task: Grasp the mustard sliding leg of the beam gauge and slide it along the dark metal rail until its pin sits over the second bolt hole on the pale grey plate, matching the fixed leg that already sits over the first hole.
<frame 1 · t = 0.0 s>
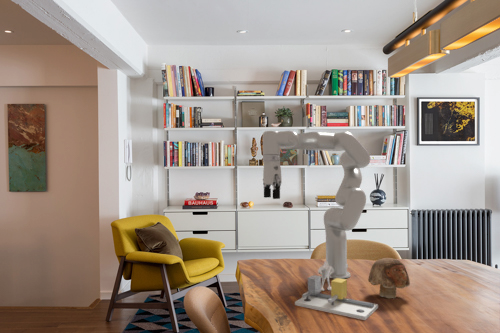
hand: (271, 198, 170), 37 cm above the table, tool pointing down, fingers open, 9 cm apart
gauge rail: (339, 304, 142), resting on hole plate
figurine: (326, 290, 159), on the table
hole plate: (336, 306, 140), on the table
sculpture: (389, 297, 150), on the table
sliding leg: (335, 292, 140), point 5 cm above the table, slide at 0.0 cm
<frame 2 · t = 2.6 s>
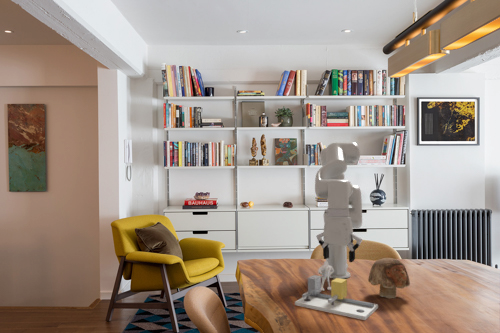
hand: (338, 260, 142), 16 cm above the table, tool pointing down, fingers open, 9 cm apart
nothing on the table moved.
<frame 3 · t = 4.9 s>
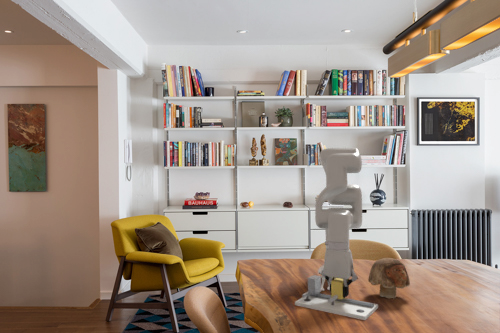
hand: (339, 295, 143), 3 cm above the table, tool pointing down, fingers closed on sliding leg, 4 cm apart
sliding leg: (335, 292, 140), point 5 cm above the table, slide at 0.0 cm, touching gripper
everything else where it was.
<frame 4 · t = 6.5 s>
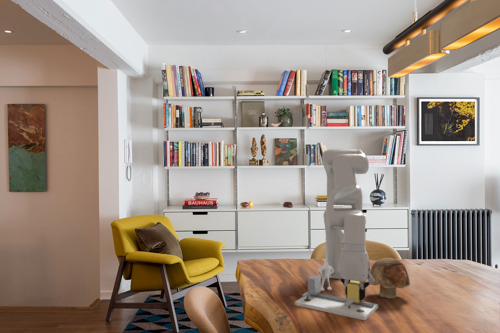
hand: (355, 298, 139), 3 cm above the table, tool pointing down, fingers closed on sliding leg, 4 cm apart
sliding leg: (352, 295, 136), point 5 cm above the table, slide at 6.1 cm, touching gripper
everything else where it was.
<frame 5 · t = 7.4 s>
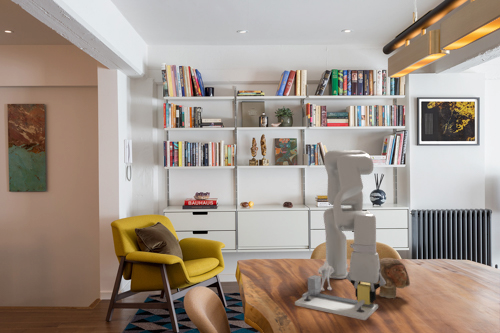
hand: (365, 299, 137), 3 cm above the table, tool pointing down, fingers closed on sliding leg, 4 cm apart
sliding leg: (362, 297, 134), point 5 cm above the table, slide at 9.8 cm, touching gripper
everything else where it was.
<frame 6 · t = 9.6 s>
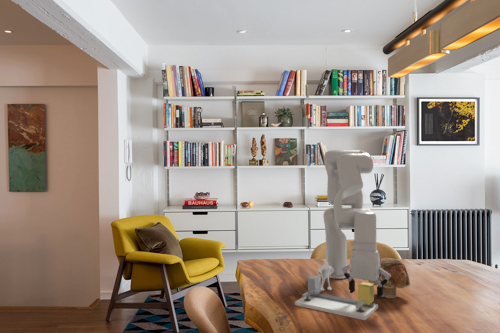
hand: (365, 294, 137), 5 cm above the table, tool pointing down, fingers open, 9 cm apart
sliding leg: (362, 297, 134), point 5 cm above the table, slide at 10.0 cm
everything else where it was.
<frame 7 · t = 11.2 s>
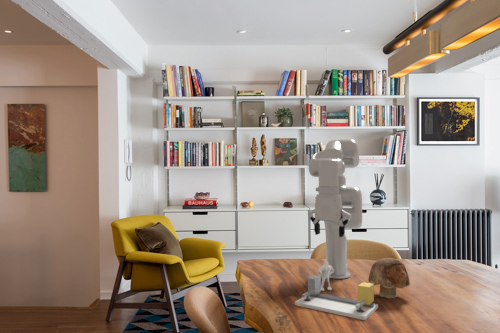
hand: (329, 235, 150), 24 cm above the table, tool pointing down, fingers open, 9 cm apart
nothing on the table moved.
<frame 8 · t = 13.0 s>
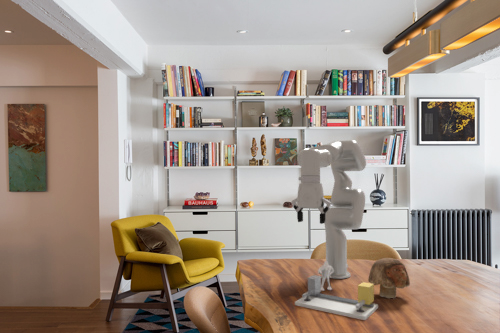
hand: (311, 222, 156), 28 cm above the table, tool pointing down, fingers open, 9 cm apart
nothing on the table moved.
at the end: sliding leg slide at 10.0 cm; the gripper is holding nothing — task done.
